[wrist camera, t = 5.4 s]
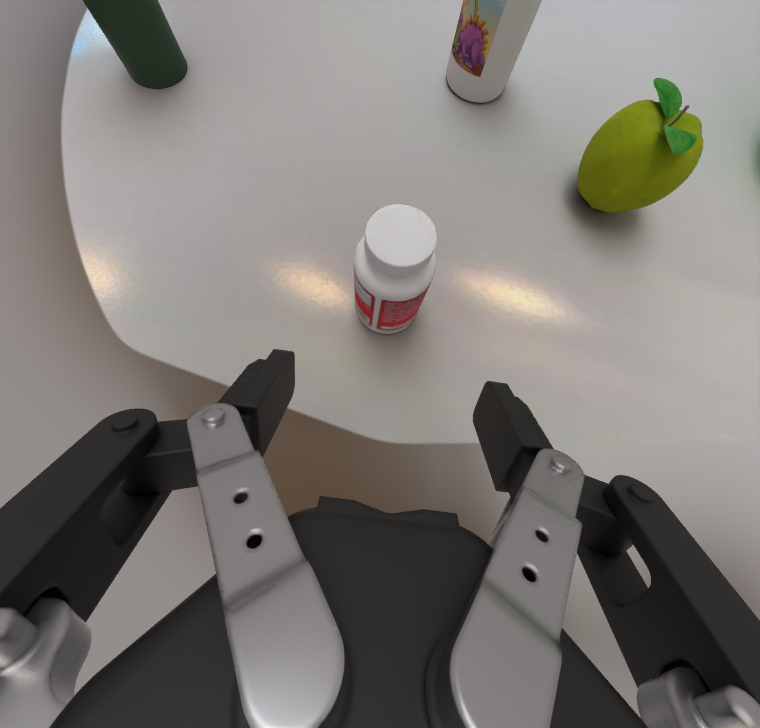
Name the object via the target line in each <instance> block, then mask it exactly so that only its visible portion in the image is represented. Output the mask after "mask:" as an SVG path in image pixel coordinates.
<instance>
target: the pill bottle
mask: <svg viewBox="0 0 760 728" xmlns="http://www.w3.org/2000/svg"><path fill="white" fill-rule="evenodd" d="M436 241H437V234H436V230H435V226H434V224H433V222H432V221H431V219H430V218H429V217H428V216H427V215H426V214H425V213H424V212H422V211H421V210H419V209H417V208H415V207H412V206H409V205H403V204H394V205H389V206H386V207H383V208H381V209H379V210H378V211H377V212H375V213H374V214H373V215H372V216H371V217H370V219H369V221H368V223H367V225H366V229H365V235H364V237H363V238H362V239H361V240H360V242H359V244H358V246H357V248H356V251H355V255H354V281H355V305H356V311H357V314H358V316H359V318H360V320H361V321H362V322H363V324H365V325H366V326H367V327H368V328H369V329H371V330H373V331H375V332H378V333H383V334H392V333H397V332H399V331H401V330H403V329H405V328H406V327H407V326H409V325H410V324H411V322H412V321H413V319H414V318H415V316H416V314H417V312H418V309H419V307H420V305H421V303H422V301H423V299H424V297H425V294H426V292H427V290H428V288H429V286H430V284H431V281H432V279H433V276H434V274H435V269H436V258H435V253H434V249H435V246H436Z"/></svg>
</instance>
